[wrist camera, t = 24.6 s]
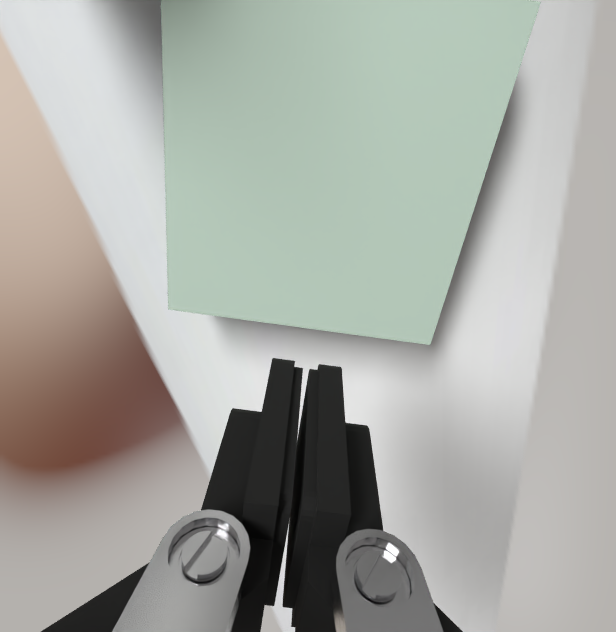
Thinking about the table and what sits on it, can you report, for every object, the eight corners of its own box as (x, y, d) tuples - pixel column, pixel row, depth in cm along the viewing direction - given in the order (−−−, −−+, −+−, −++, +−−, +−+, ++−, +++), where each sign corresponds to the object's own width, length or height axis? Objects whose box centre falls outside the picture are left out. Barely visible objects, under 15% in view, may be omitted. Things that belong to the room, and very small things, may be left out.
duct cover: (169, -51, 17) (159, -61, 16) (527, 8, 17) (541, 1, 16) (175, 300, 24) (168, 309, 23) (425, 334, 25) (430, 345, 24)
